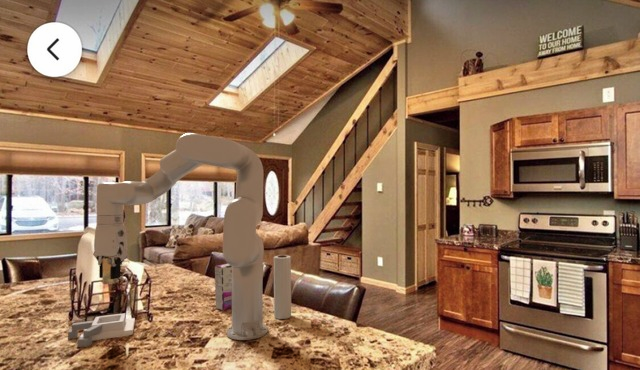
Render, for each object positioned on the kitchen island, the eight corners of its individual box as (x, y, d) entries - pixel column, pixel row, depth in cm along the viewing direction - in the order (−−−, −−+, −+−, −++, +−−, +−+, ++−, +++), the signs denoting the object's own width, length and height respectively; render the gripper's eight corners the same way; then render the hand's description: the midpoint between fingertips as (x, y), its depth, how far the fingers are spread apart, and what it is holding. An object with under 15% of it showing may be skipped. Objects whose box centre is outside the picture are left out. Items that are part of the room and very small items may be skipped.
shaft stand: (131, 340, 110) (131, 326, 110) (60, 351, 103) (60, 336, 103) (134, 322, 125) (134, 310, 125) (73, 330, 118) (73, 318, 118)
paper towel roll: (288, 320, 126) (287, 257, 126) (271, 319, 127) (271, 257, 128) (294, 313, 133) (293, 254, 133) (278, 312, 134) (277, 253, 135)
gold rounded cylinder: (118, 283, 116) (118, 258, 116) (99, 285, 114) (99, 259, 114) (120, 279, 121) (120, 255, 121) (101, 281, 119) (101, 256, 119)
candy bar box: (237, 301, 148) (237, 260, 149) (245, 303, 145) (245, 262, 146) (214, 308, 139) (214, 265, 140) (222, 311, 136) (222, 267, 137)
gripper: (139, 220, 118) (139, 277, 118) (102, 219, 124) (102, 273, 124) (118, 222, 111) (118, 282, 111) (80, 221, 117) (80, 278, 117)
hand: (110, 277), depth 118 cm, fingers closed on gold rounded cylinder, 4 cm apart
